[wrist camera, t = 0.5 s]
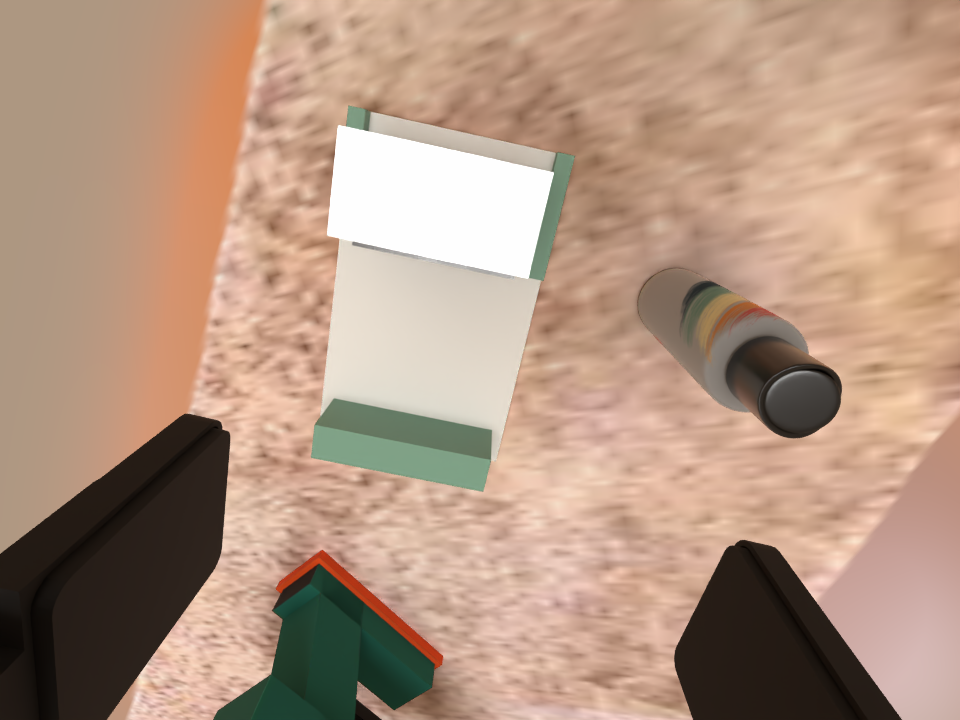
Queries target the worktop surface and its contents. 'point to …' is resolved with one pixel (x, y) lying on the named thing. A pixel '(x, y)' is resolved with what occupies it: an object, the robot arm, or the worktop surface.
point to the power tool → (335, 652)
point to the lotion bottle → (740, 352)
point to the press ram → (436, 203)
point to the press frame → (429, 339)
